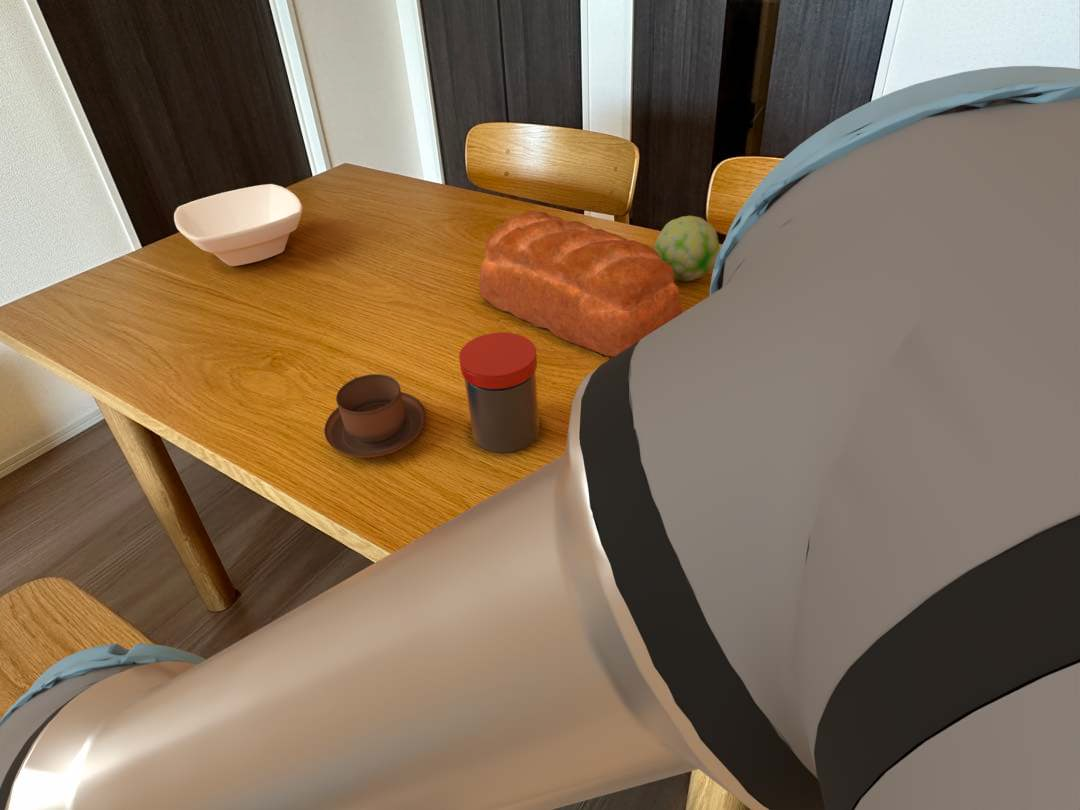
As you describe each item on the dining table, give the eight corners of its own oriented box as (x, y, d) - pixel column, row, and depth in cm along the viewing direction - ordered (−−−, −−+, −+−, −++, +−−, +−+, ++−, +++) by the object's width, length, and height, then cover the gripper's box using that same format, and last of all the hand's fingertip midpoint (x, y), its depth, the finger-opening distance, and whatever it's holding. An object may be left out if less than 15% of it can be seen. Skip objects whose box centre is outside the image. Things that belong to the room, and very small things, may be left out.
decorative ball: (695, 299, 105) (702, 237, 99) (641, 281, 110) (643, 221, 104) (728, 274, 111) (735, 214, 105) (674, 258, 116) (678, 200, 110)
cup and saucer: (308, 439, 84) (294, 399, 80) (384, 391, 91) (375, 352, 87) (371, 481, 77) (359, 440, 74) (448, 426, 84) (441, 385, 81)
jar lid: (499, 337, 82) (497, 324, 81) (553, 362, 77) (552, 348, 76) (445, 370, 77) (443, 356, 76) (499, 398, 73) (498, 385, 71)
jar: (507, 462, 79) (499, 388, 72) (458, 434, 83) (447, 362, 77) (552, 426, 83) (549, 354, 77) (504, 402, 88) (496, 331, 81)
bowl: (206, 293, 115) (188, 245, 110) (182, 250, 129) (164, 206, 124) (326, 257, 123) (314, 211, 118) (291, 221, 137) (278, 178, 132)
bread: (537, 263, 117) (533, 187, 109) (695, 324, 100) (703, 239, 92) (469, 299, 109) (458, 220, 101) (628, 373, 91) (631, 284, 83)
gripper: (1404, 1060, 27) (832, 708, 39) (1377, 653, 39) (954, 484, 51) (1573, 1012, 22) (864, 630, 34) (1481, 569, 35) (989, 405, 47)
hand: (918, 542), depth 43 cm, fingers open, 10 cm apart
